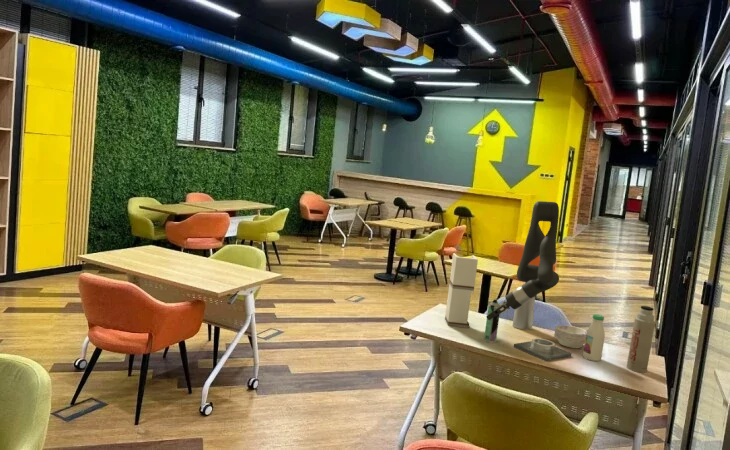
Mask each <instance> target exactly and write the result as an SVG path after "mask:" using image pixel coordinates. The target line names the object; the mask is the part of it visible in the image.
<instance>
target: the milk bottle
mask: <svg viewBox="0 0 730 450" xmlns="http://www.w3.org/2000/svg"><path fill="white" fill-rule="evenodd" d="M604 319H605V316H604V315H600V314H598V313H597V314H592V321H591V324H590V325H589V327H588V328H587V330H586V331H587V334H586V339H585V344H583V345H584V346H583V352H582V357H583V358H584V359H586V360H588V361H594V362H600V361H602V356H603V350H604V344H605V337H606V334H605V328H604V325H603V323H604Z"/></svg>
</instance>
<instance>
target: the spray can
mask: <svg viewBox="0 0 730 450" xmlns="http://www.w3.org/2000/svg"><path fill="white" fill-rule="evenodd" d="M500 305H501V304H500V303H499V302H498V299H497V298H495V299H493V300H492V301H491V302H489V303H488V308H487V313H486V314H487V315H489V314H490V313H492V312H493V311H494V310H496V308H497V307H498V306H500ZM495 312H496V313H497V314H498V312H497V311H495ZM487 315H486V316H487ZM500 316H501V314H499V315H497V316H495V317H493V318H492V319H490V320H488V319H487V318H486V322H485V330H484V336H483V341H484V342H486V343H492V344H495V343H496V342H497V336H498V335H497V334H498V328H499V322H500Z"/></svg>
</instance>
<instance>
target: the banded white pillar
mask: <svg viewBox="0 0 730 450" xmlns="http://www.w3.org/2000/svg"><path fill="white" fill-rule="evenodd" d="M478 261H479V259H478V258H477V257H476V256H475V255H474V254H473V255H471V257H470V258H469V257H464V256H463V257H462V256H459V255H457V254H456V253H455V252H454V253H452V261H451V267H450V277H449V285H448V292H447V298H446V299H447V300H446V308H445V315H444V321H445V323H446V325H447V326H448V327H449V326H450V327H456V328H457V327H458V328H466V329H467V328H468V329H470V323H469V321H468V320H469V311H470V306H471V305H470V303H471V296H472V294H474V292H475V286H476V285H475V284H476V278H477V269H478Z"/></svg>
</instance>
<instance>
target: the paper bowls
mask: <svg viewBox="0 0 730 450" xmlns="http://www.w3.org/2000/svg"><path fill="white" fill-rule="evenodd" d="M586 334H587V330H586V329H584V328H581V327H577V326H574V325H567V324H566V325H565V324H561V325H560V324H558V325H556V326H555V329H554V338H556V339H557V342H558V343H559V344H560V345H562V346H564V347H567V348H571V349H580V348H582V347H583V345H585V339H586Z"/></svg>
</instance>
